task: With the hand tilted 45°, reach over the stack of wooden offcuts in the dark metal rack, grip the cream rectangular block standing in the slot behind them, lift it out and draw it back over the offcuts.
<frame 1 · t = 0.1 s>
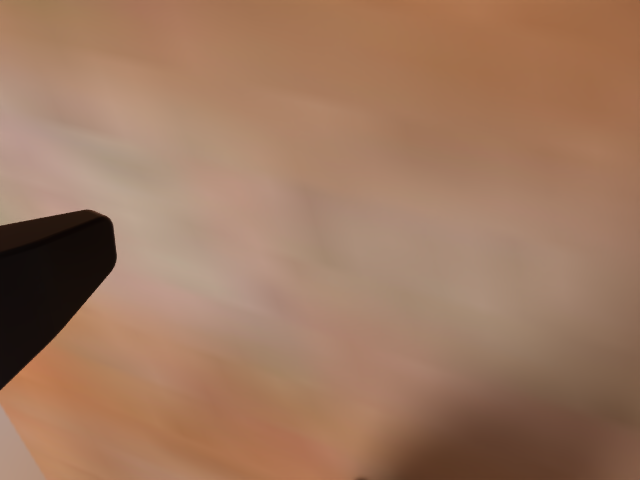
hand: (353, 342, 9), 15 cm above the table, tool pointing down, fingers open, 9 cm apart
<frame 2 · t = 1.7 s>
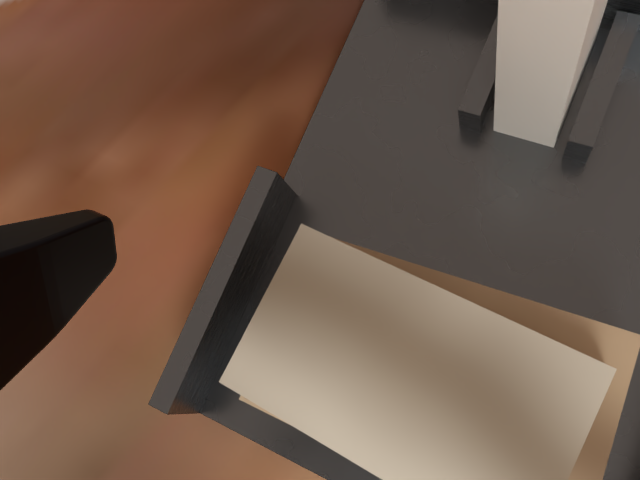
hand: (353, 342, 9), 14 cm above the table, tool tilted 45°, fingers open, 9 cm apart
cream rectangular block: (544, 84, 22), point 1 cm above the table, touching rack
rack: (485, 239, 22), on the table
offcut stack: (430, 379, 22), resting on rack
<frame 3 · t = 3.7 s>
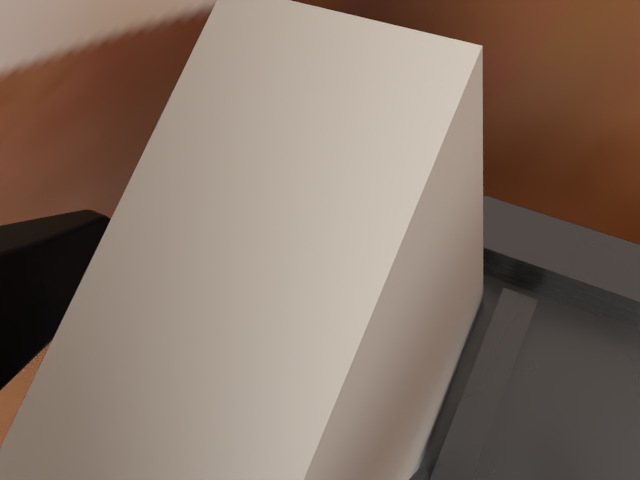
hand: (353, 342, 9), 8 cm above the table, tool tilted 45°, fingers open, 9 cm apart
cream rectangular block: (410, 365, 16), point 1 cm above the table, touching rack
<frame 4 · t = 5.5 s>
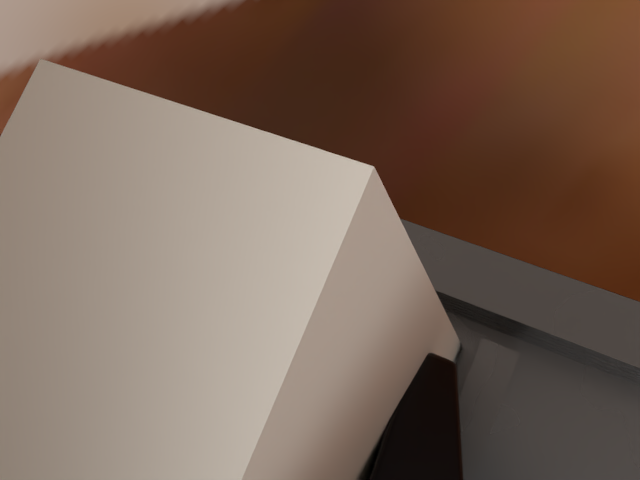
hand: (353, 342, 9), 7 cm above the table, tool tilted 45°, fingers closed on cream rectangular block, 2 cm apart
cream rectangular block: (383, 417, 14), point 1 cm above the table, touching gripper, rack
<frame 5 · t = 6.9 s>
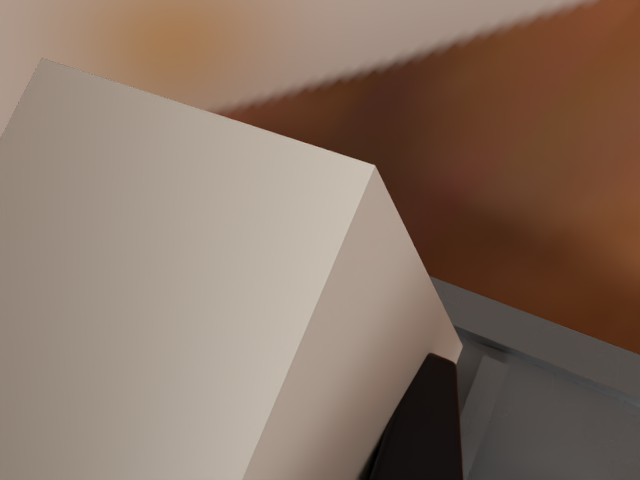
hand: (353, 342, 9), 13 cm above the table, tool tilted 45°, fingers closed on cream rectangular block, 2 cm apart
cream rectangular block: (383, 417, 14), point 7 cm above the table, touching gripper
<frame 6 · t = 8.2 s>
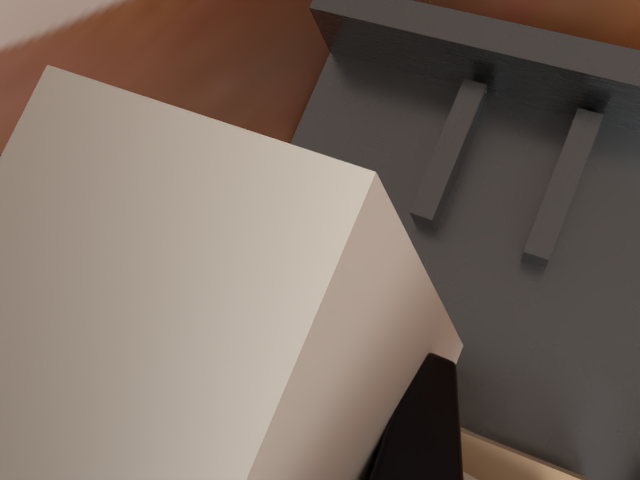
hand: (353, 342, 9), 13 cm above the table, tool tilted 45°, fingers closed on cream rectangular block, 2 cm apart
cream rectangular block: (384, 416, 14), point 7 cm above the table, touching gripper
rack: (442, 343, 21), on the table
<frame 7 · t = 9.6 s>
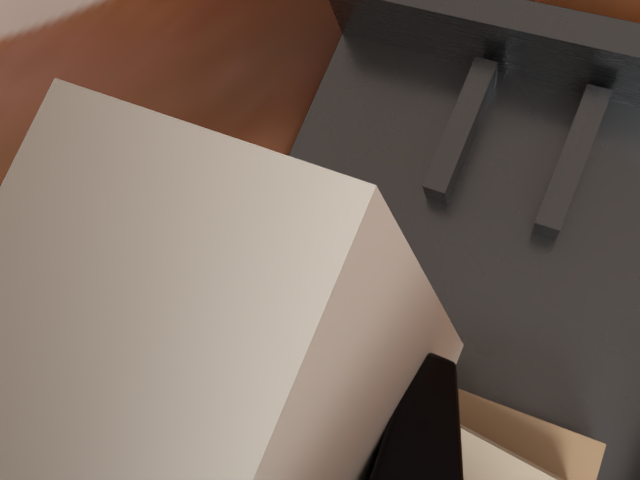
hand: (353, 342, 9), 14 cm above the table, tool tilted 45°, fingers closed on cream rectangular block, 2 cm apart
cream rectangular block: (385, 415, 14), point 7 cm above the table, touching gripper
rack: (453, 316, 22), on the table
offcut stack: (395, 463, 21), resting on rack
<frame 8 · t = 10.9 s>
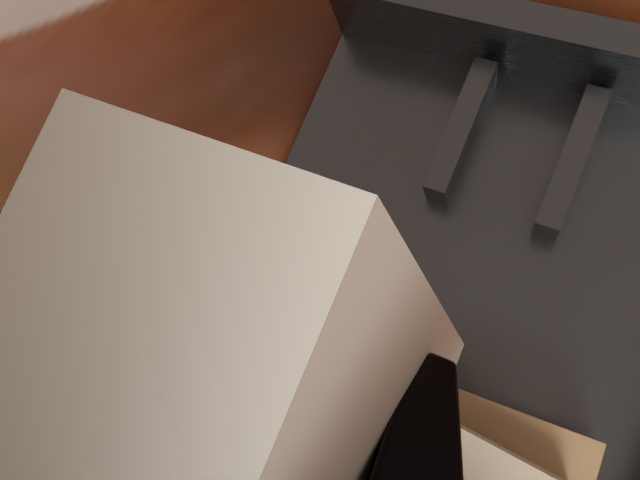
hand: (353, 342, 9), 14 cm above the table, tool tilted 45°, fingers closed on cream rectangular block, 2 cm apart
cream rectangular block: (386, 414, 15), point 7 cm above the table, touching gripper
rack: (453, 316, 22), on the table
offcut stack: (395, 463, 21), resting on rack
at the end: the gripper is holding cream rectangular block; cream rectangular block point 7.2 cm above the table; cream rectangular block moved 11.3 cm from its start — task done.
